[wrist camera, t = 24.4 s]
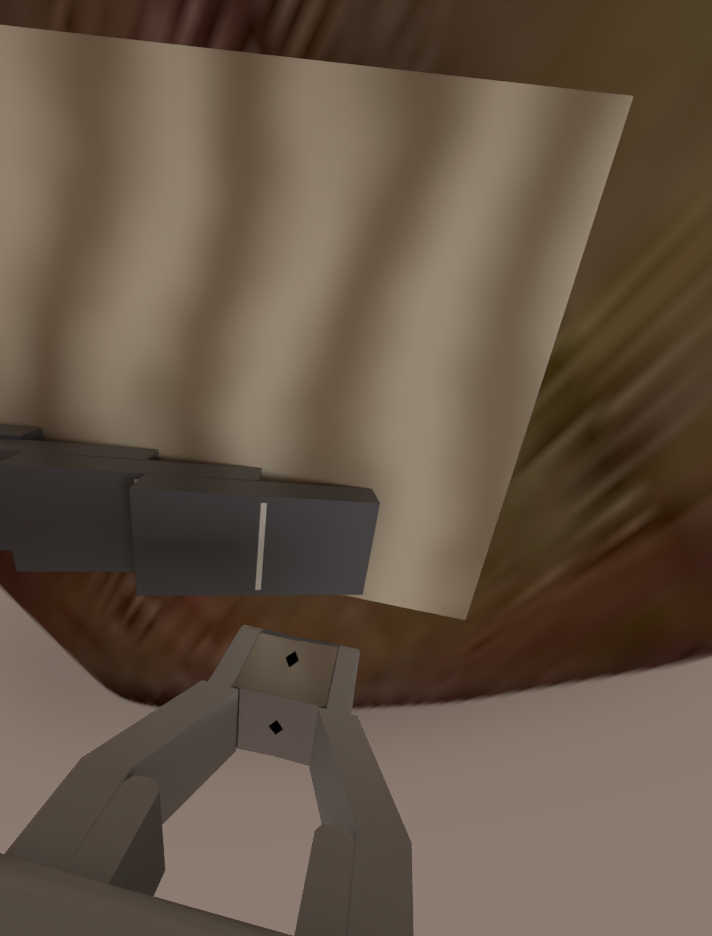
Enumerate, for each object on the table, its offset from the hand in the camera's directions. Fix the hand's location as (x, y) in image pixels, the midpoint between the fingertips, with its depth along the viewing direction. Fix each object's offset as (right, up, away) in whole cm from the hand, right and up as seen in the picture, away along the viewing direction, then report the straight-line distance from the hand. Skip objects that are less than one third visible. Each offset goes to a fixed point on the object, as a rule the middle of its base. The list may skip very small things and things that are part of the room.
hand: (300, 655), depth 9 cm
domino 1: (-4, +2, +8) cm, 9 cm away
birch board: (-5, +10, +8) cm, 14 cm away
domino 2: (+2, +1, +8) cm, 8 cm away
